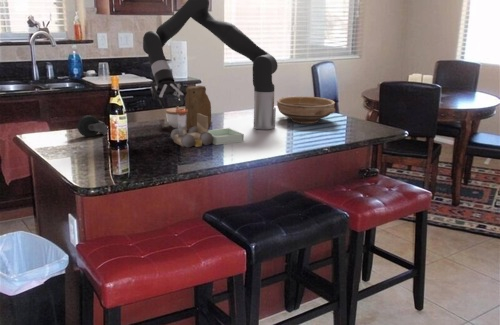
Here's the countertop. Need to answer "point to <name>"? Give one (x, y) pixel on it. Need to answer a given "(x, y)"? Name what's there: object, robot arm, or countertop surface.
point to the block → (197, 105)
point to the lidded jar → (172, 116)
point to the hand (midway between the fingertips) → (173, 105)
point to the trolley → (194, 134)
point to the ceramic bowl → (305, 108)
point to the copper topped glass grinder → (182, 122)
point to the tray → (226, 136)
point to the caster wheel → (91, 126)
